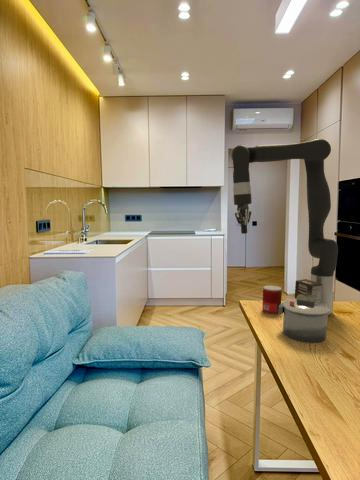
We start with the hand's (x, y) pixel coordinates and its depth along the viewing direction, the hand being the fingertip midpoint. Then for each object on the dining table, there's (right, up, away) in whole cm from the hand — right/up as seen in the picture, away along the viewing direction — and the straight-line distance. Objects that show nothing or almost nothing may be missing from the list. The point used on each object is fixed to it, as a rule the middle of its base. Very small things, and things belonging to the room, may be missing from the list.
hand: (244, 233), depth 142 cm
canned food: (+13, -35, +4) cm, 38 cm away
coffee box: (+25, -36, -5) cm, 44 cm away
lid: (+18, -28, -22) cm, 40 cm away
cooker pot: (+18, -38, -21) cm, 47 cm away
